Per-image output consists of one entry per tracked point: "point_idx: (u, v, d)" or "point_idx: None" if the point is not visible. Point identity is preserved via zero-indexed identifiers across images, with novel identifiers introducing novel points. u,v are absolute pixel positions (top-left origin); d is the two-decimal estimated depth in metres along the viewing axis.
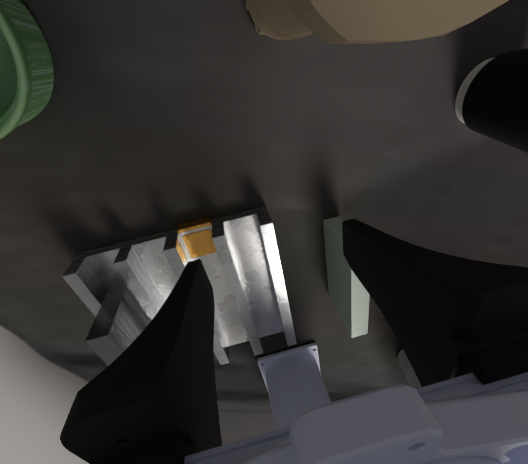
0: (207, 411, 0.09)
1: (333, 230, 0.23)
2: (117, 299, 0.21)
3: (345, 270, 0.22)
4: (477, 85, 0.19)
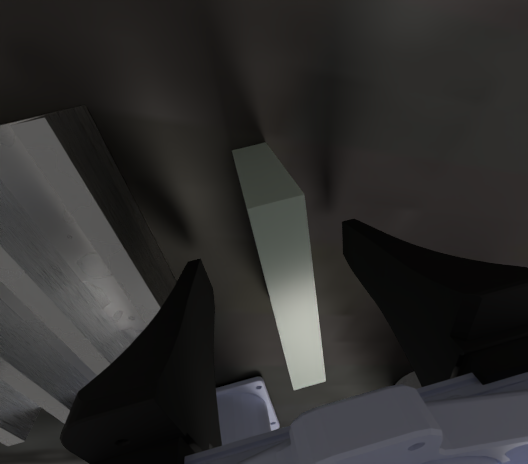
0: (207, 411, 0.09)
1: (241, 161, 0.10)
2: None
3: (257, 248, 0.09)
4: None
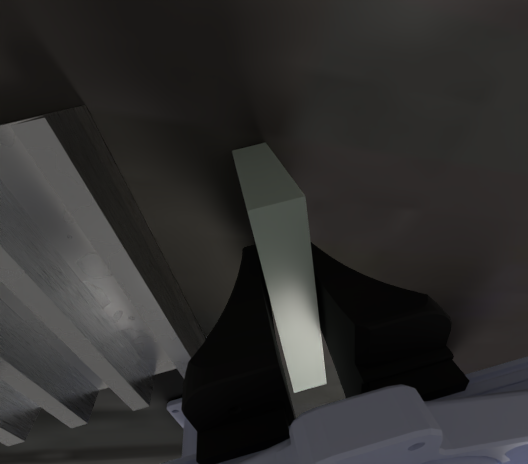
0: (287, 388, 0.09)
1: (241, 162, 0.10)
2: None
3: (257, 250, 0.09)
4: None
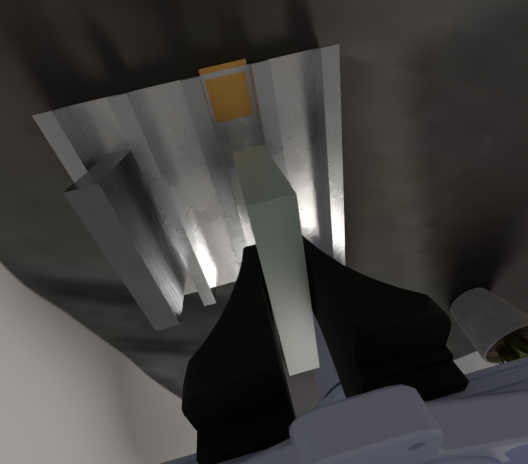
0: None
1: (240, 163, 0.11)
2: (114, 162, 0.15)
3: None
4: None
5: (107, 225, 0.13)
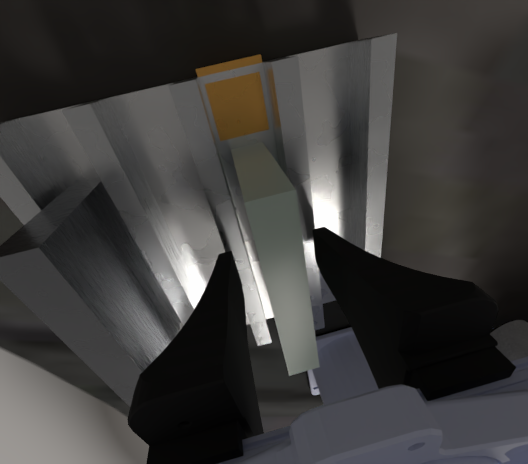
0: (252, 398, 0.09)
1: (239, 160, 0.11)
2: (76, 199, 0.10)
3: None
4: None
5: (58, 301, 0.09)
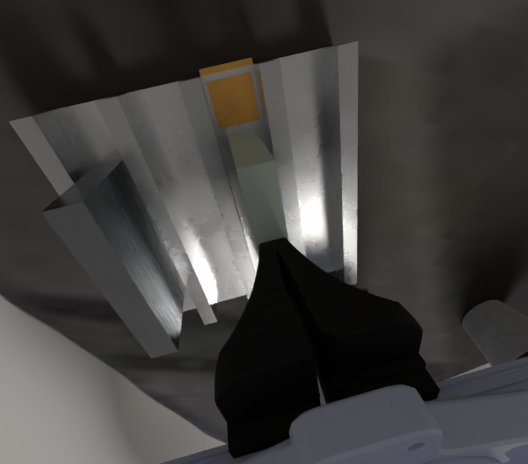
0: None
1: (234, 143, 0.14)
2: (103, 173, 0.13)
3: None
4: None
5: (94, 247, 0.11)
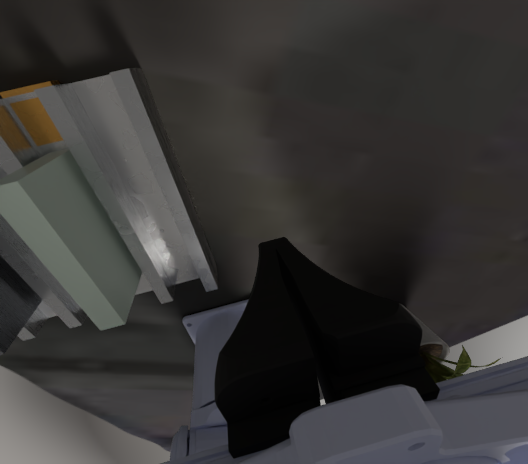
0: None
1: (36, 161, 0.15)
2: None
3: None
4: None
5: None
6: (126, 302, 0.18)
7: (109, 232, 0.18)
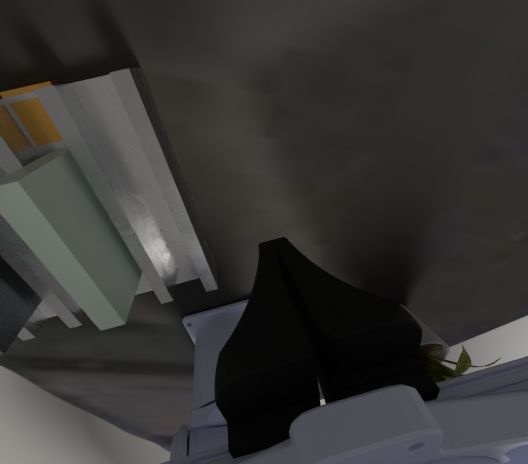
0: None
1: (36, 161, 0.15)
2: None
3: None
4: None
5: None
6: (126, 302, 0.18)
7: (109, 232, 0.18)
